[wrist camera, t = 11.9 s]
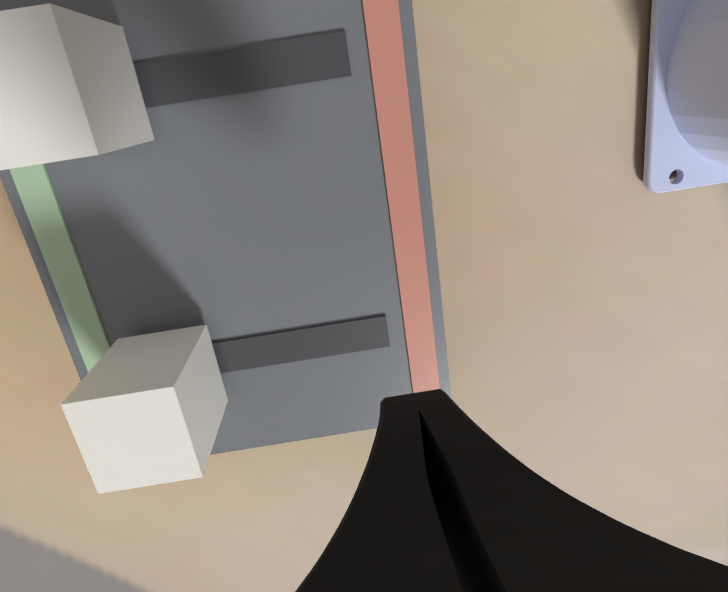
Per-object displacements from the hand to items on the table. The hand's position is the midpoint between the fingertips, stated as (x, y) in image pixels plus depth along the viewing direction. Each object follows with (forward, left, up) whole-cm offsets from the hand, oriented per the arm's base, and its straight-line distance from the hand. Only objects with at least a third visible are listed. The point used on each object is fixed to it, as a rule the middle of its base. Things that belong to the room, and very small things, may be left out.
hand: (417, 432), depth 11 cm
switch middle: (+7, -8, -7) cm, 13 cm away
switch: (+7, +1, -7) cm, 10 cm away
